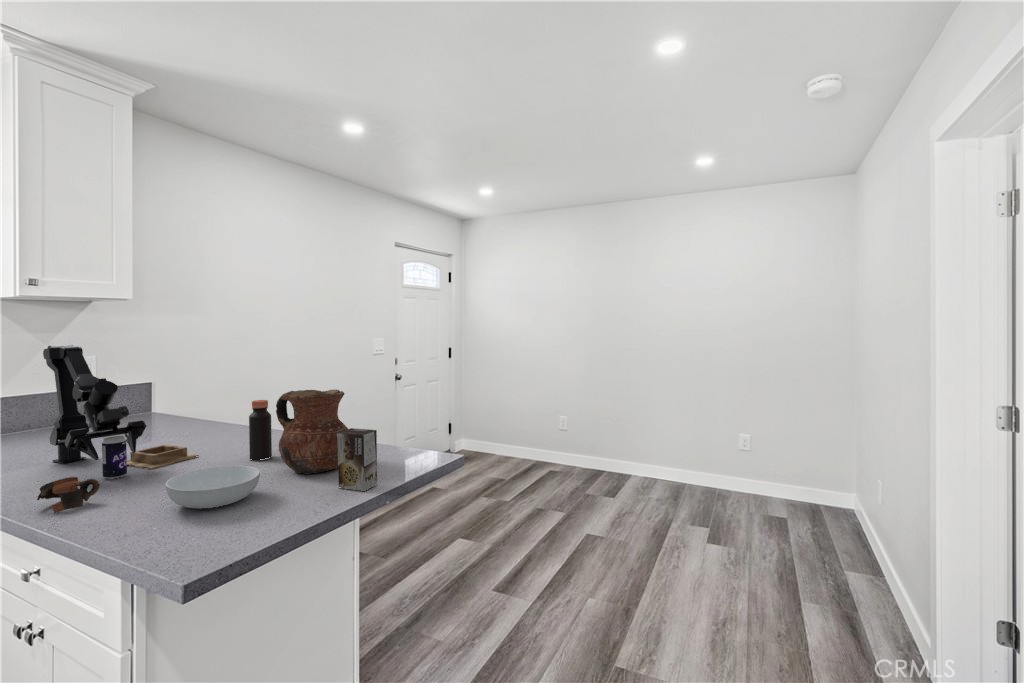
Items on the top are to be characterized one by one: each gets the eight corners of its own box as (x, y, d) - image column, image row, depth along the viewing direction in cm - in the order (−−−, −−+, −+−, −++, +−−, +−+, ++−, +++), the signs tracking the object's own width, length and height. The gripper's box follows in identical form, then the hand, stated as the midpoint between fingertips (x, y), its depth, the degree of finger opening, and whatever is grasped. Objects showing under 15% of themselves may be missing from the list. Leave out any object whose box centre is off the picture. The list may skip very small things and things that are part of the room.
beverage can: (113, 480, 143) (112, 440, 143) (97, 479, 144) (96, 439, 144) (131, 474, 149) (130, 436, 148) (116, 473, 150) (115, 435, 149)
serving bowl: (191, 525, 112) (191, 495, 112) (150, 507, 123) (149, 480, 123) (276, 498, 130) (276, 472, 129) (233, 484, 141) (233, 460, 140)
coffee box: (378, 485, 140) (377, 429, 139) (364, 492, 134) (364, 434, 133) (351, 481, 143) (351, 427, 142) (337, 488, 137) (336, 432, 136)
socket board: (118, 464, 160) (117, 453, 160) (167, 452, 175) (167, 442, 175) (150, 469, 154) (150, 458, 154) (198, 456, 169) (198, 446, 169)
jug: (343, 455, 171) (342, 385, 170) (360, 471, 153) (360, 392, 153) (274, 465, 159) (272, 389, 158) (284, 483, 141) (282, 398, 140)
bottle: (275, 457, 168) (275, 400, 167) (256, 462, 162) (255, 403, 162) (264, 455, 172) (263, 398, 171) (245, 459, 166) (244, 401, 165)
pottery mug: (37, 519, 116) (28, 487, 118) (50, 523, 124) (42, 493, 126) (100, 496, 123) (91, 466, 125) (109, 502, 131) (100, 473, 132)
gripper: (67, 403, 140) (84, 445, 134) (142, 395, 156) (160, 433, 150) (57, 427, 144) (73, 469, 139) (132, 417, 160) (149, 454, 155)
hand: (116, 455), depth 146 cm, fingers open, 9 cm apart
